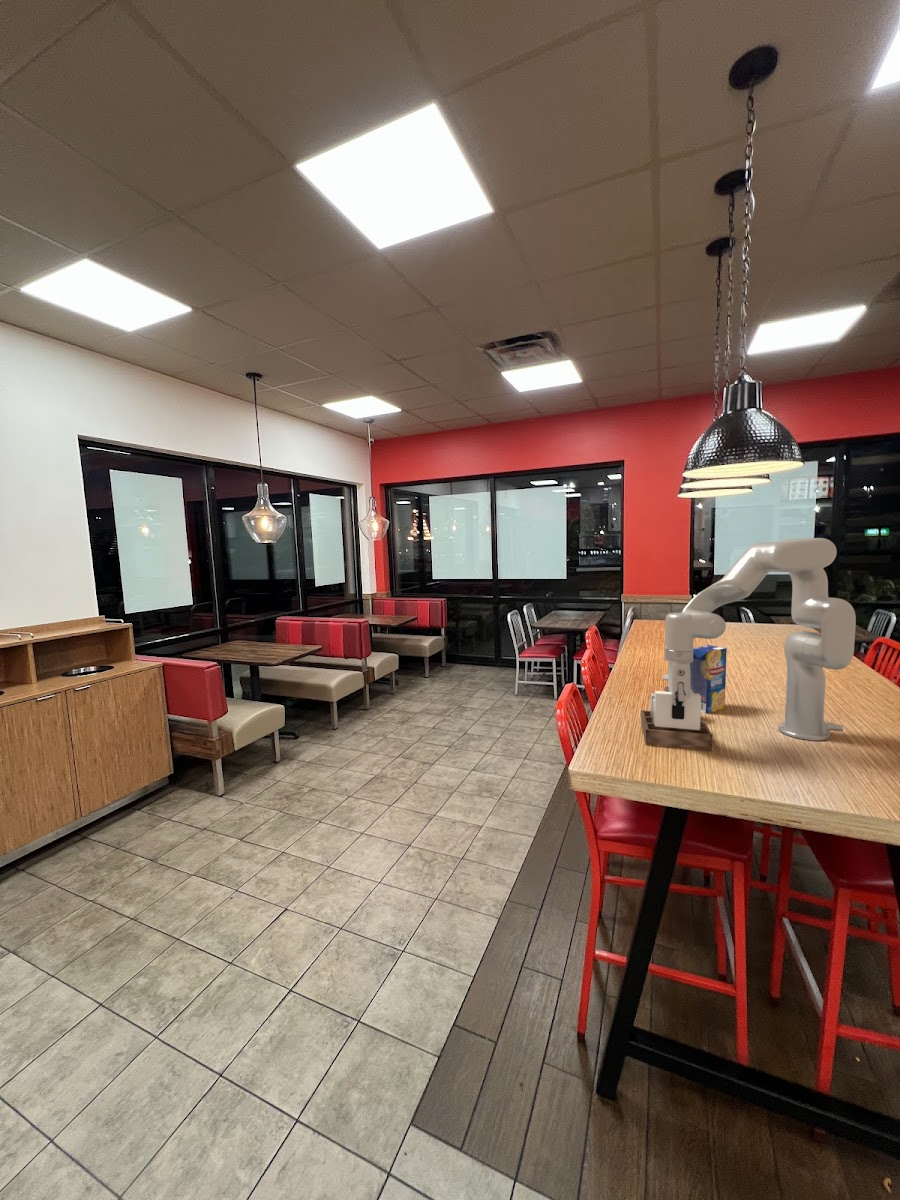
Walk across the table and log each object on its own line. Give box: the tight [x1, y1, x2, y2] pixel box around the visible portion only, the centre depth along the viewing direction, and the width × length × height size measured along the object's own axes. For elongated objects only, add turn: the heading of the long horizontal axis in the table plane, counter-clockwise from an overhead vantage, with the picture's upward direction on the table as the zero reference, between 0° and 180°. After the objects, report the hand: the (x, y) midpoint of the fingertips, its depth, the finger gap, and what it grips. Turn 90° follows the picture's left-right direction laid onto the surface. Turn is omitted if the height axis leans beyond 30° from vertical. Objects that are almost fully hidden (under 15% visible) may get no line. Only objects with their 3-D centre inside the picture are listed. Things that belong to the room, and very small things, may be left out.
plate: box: [654, 690, 702, 730], centre depth 140 cm, size 12×3×10 cm, turn 72°
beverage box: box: [690, 644, 728, 714], centre depth 170 cm, size 7×11×22 cm, turn 120°
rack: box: [640, 710, 714, 752], centre depth 146 cm, size 18×18×4 cm
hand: (676, 716), depth 140 cm, fingers closed on plate, 2 cm apart
